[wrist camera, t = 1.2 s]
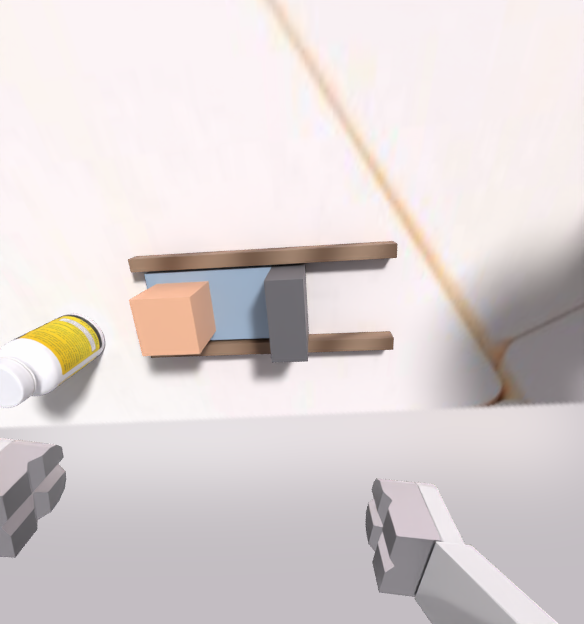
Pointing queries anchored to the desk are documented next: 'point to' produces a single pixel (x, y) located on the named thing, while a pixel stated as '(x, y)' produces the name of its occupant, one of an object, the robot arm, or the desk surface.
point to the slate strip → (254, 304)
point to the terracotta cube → (174, 318)
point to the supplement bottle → (47, 357)
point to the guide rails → (273, 257)
